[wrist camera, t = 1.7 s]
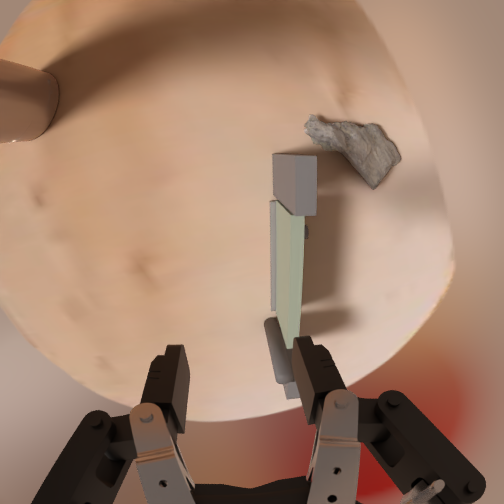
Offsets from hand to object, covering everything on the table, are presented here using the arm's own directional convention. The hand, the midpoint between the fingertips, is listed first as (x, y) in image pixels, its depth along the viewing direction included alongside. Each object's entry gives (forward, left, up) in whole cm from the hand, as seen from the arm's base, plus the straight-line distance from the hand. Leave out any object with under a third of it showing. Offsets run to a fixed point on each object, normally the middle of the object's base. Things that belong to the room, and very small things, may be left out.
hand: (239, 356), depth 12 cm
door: (+6, -3, -19) cm, 20 cm away
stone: (+14, +9, -20) cm, 26 cm away
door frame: (+6, -3, -19) cm, 20 cm away
